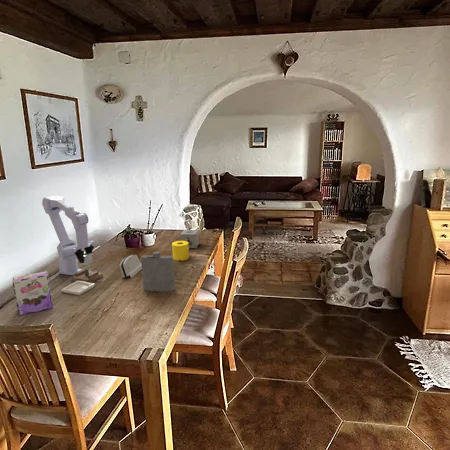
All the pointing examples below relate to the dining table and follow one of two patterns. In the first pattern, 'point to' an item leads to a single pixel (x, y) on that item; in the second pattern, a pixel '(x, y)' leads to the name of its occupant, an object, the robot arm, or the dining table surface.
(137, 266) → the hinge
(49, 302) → the candy box
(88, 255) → the sleeve
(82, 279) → the vise block
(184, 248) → the yellow hollow cylinder
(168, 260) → the hip flask
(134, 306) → the dining table surface
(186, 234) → the icon cube
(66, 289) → the dish
